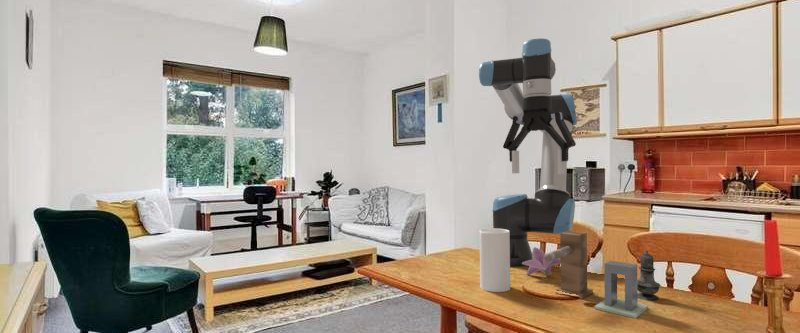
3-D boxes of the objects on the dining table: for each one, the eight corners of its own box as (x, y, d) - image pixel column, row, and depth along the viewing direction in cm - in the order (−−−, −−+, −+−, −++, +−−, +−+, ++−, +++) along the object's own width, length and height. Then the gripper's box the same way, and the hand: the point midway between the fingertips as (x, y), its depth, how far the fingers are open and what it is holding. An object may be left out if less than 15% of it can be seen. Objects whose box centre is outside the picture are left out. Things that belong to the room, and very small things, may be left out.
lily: (572, 282, 127) (562, 250, 131) (565, 275, 118) (555, 242, 122) (532, 290, 131) (524, 259, 136) (522, 284, 122) (514, 252, 127)
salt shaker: (651, 302, 105) (651, 254, 105) (629, 296, 110) (628, 249, 110) (665, 298, 108) (665, 251, 107) (643, 292, 113) (642, 247, 113)
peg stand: (566, 287, 118) (566, 229, 118) (592, 292, 113) (592, 232, 113) (533, 304, 105) (532, 239, 105) (560, 311, 100) (560, 243, 100)
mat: (608, 299, 108) (608, 297, 108) (648, 308, 101) (648, 305, 101) (594, 308, 101) (594, 306, 101) (635, 318, 95) (635, 315, 95)
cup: (476, 289, 117) (475, 231, 117) (484, 282, 125) (484, 227, 124) (506, 293, 113) (505, 234, 113) (513, 285, 121) (512, 229, 120)
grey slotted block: (610, 300, 105) (610, 260, 105) (637, 306, 101) (637, 264, 100) (604, 305, 102) (604, 263, 102) (632, 311, 98) (631, 267, 98)
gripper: (490, 100, 124) (491, 173, 124) (576, 89, 106) (577, 174, 106) (504, 102, 129) (505, 172, 129) (588, 92, 111) (589, 173, 112)
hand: (537, 173), depth 118 cm, fingers open, 13 cm apart
